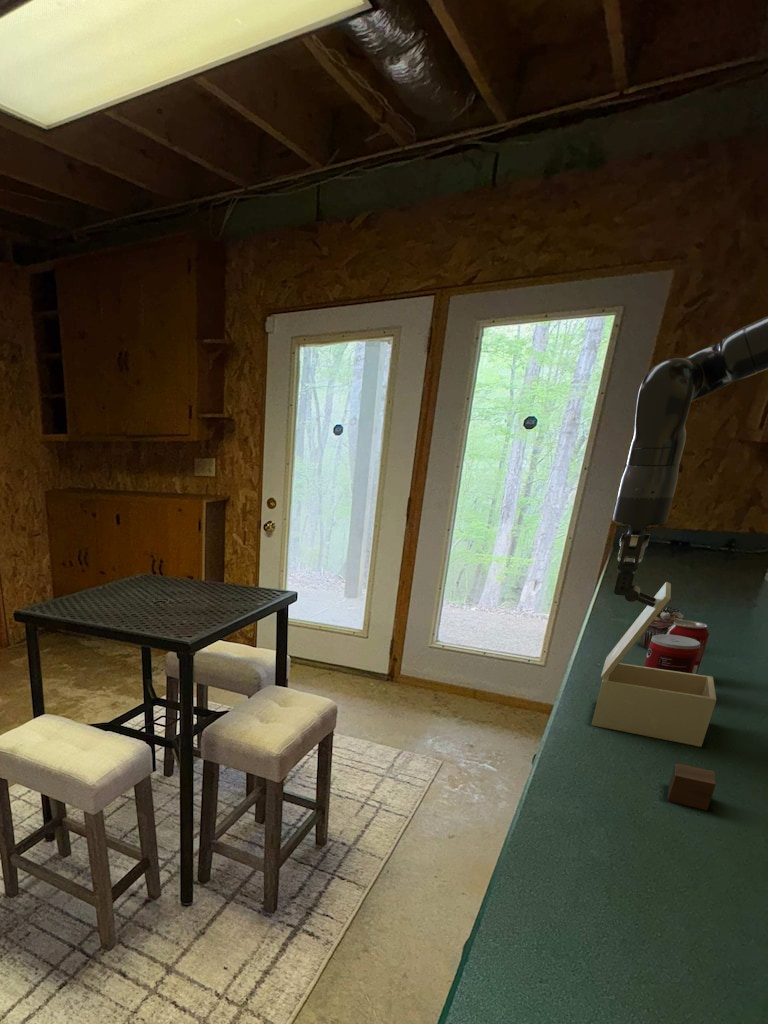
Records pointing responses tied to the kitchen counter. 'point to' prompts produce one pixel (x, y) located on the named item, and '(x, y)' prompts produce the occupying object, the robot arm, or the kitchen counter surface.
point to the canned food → (672, 653)
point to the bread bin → (656, 703)
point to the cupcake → (660, 625)
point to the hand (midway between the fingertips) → (622, 590)
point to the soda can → (691, 635)
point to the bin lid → (637, 623)
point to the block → (691, 786)
